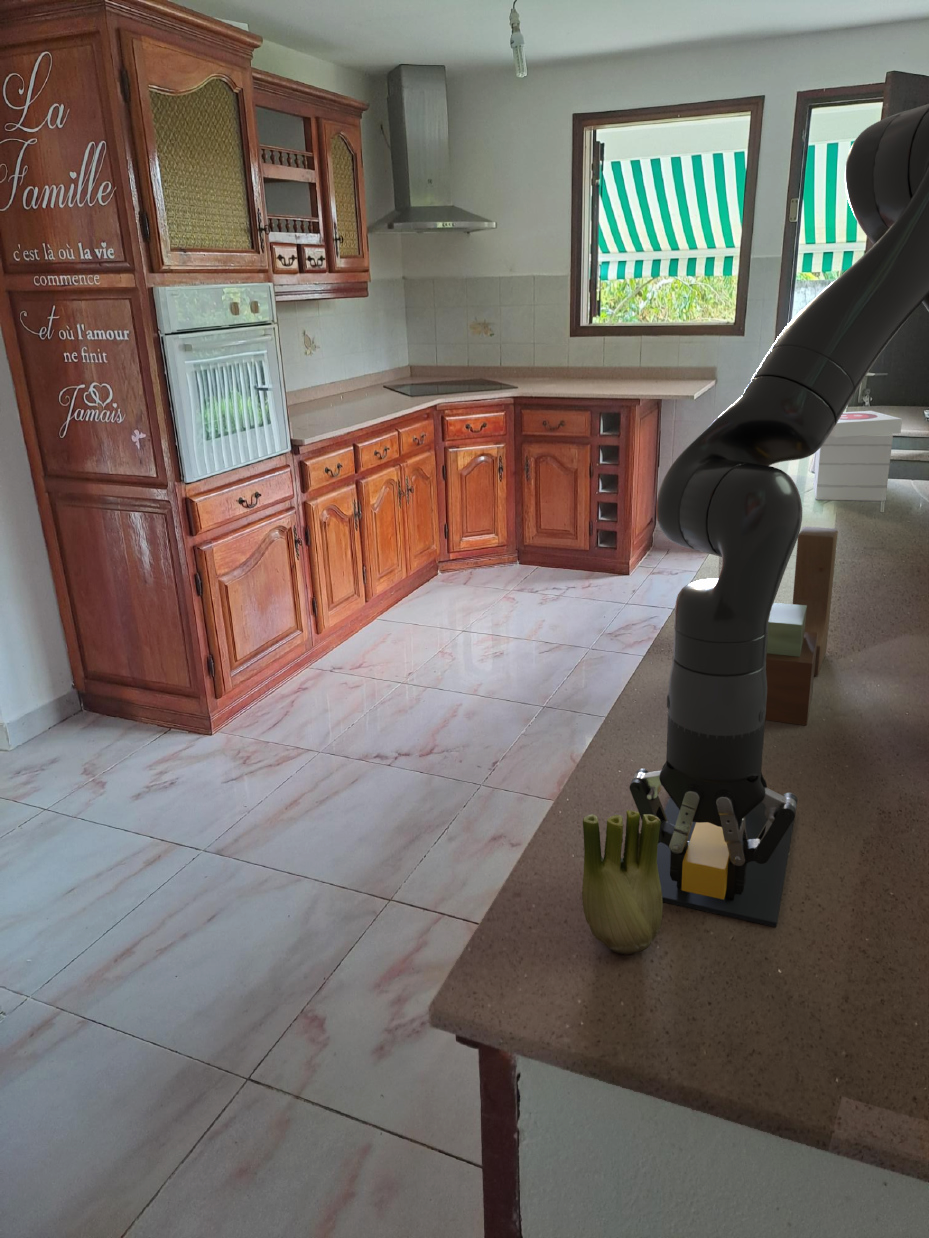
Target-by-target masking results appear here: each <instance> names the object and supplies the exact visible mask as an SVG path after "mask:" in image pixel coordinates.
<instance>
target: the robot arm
mask: <svg viewBox="0 0 929 1238" xmlns="http://www.w3.org/2000/svg"><path fill="white" fill-rule="evenodd" d="M844 168H845V169H844V170H845V171H844V183H845V193H846V196H847V200H848V204H849V206H850V208H851V211H852V213H853V216H854V218H855V220H856V222H857V223H858V226H859V227H860V228H861V230H862V232H863V233H864V234H865V235H866V237H867V238H868V240H869V241H870V242H871V243H872V244H873V245H872V247H870V248H869V249H868V250H867V251H866V252H865V253H864V254H863V255H862V256H861V257H859V259H857V261H856V262H854V263H853V264H852V265H851V266H849V268H847V270H845V271H844V272H843V273H842V274H841V275H839V276H838V277H837V278H836V279H834V280H833V281H832V282H831V283H830V284H828V285H827V286H826V287H825V288H824V289H823V290H822V291H821V292H820V293H818V294H817V295H816V296H815V297H814V298H813V299H811V300H810V302H808V303H807V305H805V306H804V308H802V309H801V310H800V311H799V312H798V313H797V314H796V315H795V316H794V317H793V319H791V320H790V321H789V323H787V325H786V326H785V327H784V329H783V330H782V331H781V333H780V334H779V336H777V338H776V340H775V341H774V342H773V344H772V345H771V347H770V349H769V350H768V352H767V353H766V355H765V356H764V358H763V359H762V361H761V363H760V364H759V367H757V369H756V371H755V372H754V374H753V376H752V377H751V379H750V380H749V382H748V383H747V385H746V387H745V388H744V391H743V392H742V393H741V395H740V396H739V398H738V399H737V400H736V401H735V402H734V403H733V404H731V405H730V406H729V407H727V409H725V410H724V411H723V412H722V413H721V414H720V415H718V416H717V417H716V418H715V419H714V421H712V423H710V424H709V426H707V427H706V428H705V430H703V431H702V432H701V433H700V434H699V435H698V436H697V437H696V438H695V439H694V440H692V442H691V443H690V444H688V446H687V447H686V448H685V449H684V450H683V451H682V452H681V453H680V454H679V455H678V456H677V458H676V459H675V460H674V461H673V463H672V464H671V466H670V467H669V469H668V470H667V472H666V474H665V475H664V477H663V479H662V483H661V484H660V487H659V490H658V493H657V499H656V503H655V505H656V507H655V508H656V509H655V510H656V512H655V513H656V521H657V524H658V527H659V529H660V531H661V533H662V534H663V535H664V536H665V537H666V538H667V539H668V540H669V541H671V542H672V543H674V544H676V545H678V546H680V547H683V548H687V549H690V550H693V551H698V552H701V553H705V554H708V555H712V556H716V557H720V558H721V561H722V565H721V570H720V573H719V576H718V578H717V577H716V578H703V579H699V580H694V581H692V582H690V583H687V584H686V585H684V586H682V588H681V589H680V591H679V592H678V594H677V596H676V600H675V605H674V613H673V614H674V615H673V646H672V647H673V648H672V662H671V668H670V672H669V678H668V693H667V695H666V708H667V721H666V722H667V726H666V730H667V731H666V755H665V759H666V760H665V763H664V764H663V765H662V767H661V769H660V770H655V771H650V772H649V771H648V769H645V768H639V769H637V771H636V772H635V774H634V775H633V777H632V780H631V782H630V784H629V791H630V794H631V796H632V799H633V802H634V804H635V807H636V809H637V812H639V814H640V820H642V819H643V815H646V814H650V815H654V816H656V817H658V818H659V819H660V821H661V824H660V830H659V839H658V843H660V842H662V843H664V844H666V845H667V846H668V847H669V848H670V851H671V857H670V877H671V879H672V880H673V881H677V888H681V889H682V867H683V859H684V856H685V853H686V850H687V848H688V845H689V842H690V841H688V835H689V832H690V829H691V825H692V822H697V823H704V822H708V823H711V824H714V825H716V826H719V827H722V830H723V835H724V840H725V842H726V843H727V847H728V852H729V857H730V859H729V863H728V874H727V889H726V895H725V898H727V899H732V900H734V898H735V894H738V895H741V894H742V892H743V890H744V886H745V882H746V869H747V863H748V862H751V861H756V862H757V863H759V864H764V863H766V862H767V861H768V860H769V858H770V856H771V855H772V853H773V852H774V850H775V848H776V847H777V845H778V844H779V842H780V840H781V839H782V837H783V836H784V834H785V832H786V831H787V829H788V828H789V826H790V825H791V823H792V821H793V820H794V821H795V818H796V811H797V806H798V801H799V800H798V797H797V795H796V794H794V793H792V792H786V793H784V794H783V795H782V794H780V793H779V792H776V791H774V790H772V789H770V788H768V784H767V782H766V779H765V778H764V775H763V772H762V767H763V754H764V753H763V752H764V739H765V729H766V728H765V727H766V720H765V715H766V701H767V677H766V656H767V642H768V627H769V615H770V612H771V608H772V605H773V603H775V600H776V597H777V594H778V592H779V589H780V586H781V583H782V580H783V577H784V575H785V571H786V569H787V567H788V564H789V562H790V559H791V556H792V555H793V551H794V549H795V546H796V545H797V541H798V536H799V533H800V532H801V530H802V524H803V523H802V522H803V504H802V497H801V495H800V492H799V489H798V487H797V485H796V483H795V481H794V480H793V479H792V477H791V476H790V475H789V474H788V473H787V472H786V471H784V470H782V469H780V468H777V467H774V466H772V465H775V464H778V463H782V462H789V461H797V460H803V459H806V458H809V457H810V456H814V453H815V452H817V451H818V450H819V449H820V447H821V446H822V445H823V444H824V442H825V441H826V439H827V438H828V436H829V435H830V433H831V432H832V430H833V428H834V426H835V425H836V423H837V422H838V420H839V419H840V417H841V415H842V414H843V412H845V410H846V409H847V407H848V406H849V404H850V403H851V401H852V399H853V398H854V396H855V394H856V393H857V391H858V389H859V388H860V386H861V384H862V383H863V382H864V380H865V378H866V376H867V375H868V374H869V372H870V370H871V369H872V367H873V366H874V365H875V363H876V361H877V359H878V358H879V356H880V355H882V352H883V351H885V348H886V347H887V346H888V345H889V343H890V342H891V340H892V339H893V338H894V337H895V336H896V334H897V333H898V331H899V330H901V328H902V327H903V325H904V324H905V323H906V322H907V320H909V318H910V317H911V316H912V315H913V314H914V312H915V311H916V310H917V309H918V308H919V306H920V305H922V304H923V306H924V307H925V309H926V310H927V311H928V312H929V103H927V104H923V105H920V106H917V107H915V108H912V109H907V110H904V111H901V112H897V113H895V114H893V115H889V116H887V117H885V118H883V119H880V120H878V121H876V122H874V123H873V124H871V125H870V126H868V127H866V128H865V129H864V130H863V131H861V132H860V133H859V134H858V136H857V137H856V138H855V140H854V141H853V143H852V145H851V146H850V148H849V151H848V154H847V158H846V162H845V167H844ZM661 786H662V787H663V789H664V790H665V792H666V793H667V795H668V796H669V798H670V797H671V799H672V800H673V802H674V803H675V804H676V806H677V807H678V809H679V810H680V812H679V815H678V818H677V821H676V825H675V826H674V825H672V824H670V823H668V820H667V817H666V815H665V812H664V810H665V808H664V807H663V805H662V802H661V800H660V796H659V795H660V792H661ZM761 802H762V803H763V804H764V805H765V807H766V810H765V816H766V818H768V821H767V822H766V824H765V826H764V827H763V829H762V831H761V832H760V834H759V836H758V837H757V839H750V840H748V837H747V832H746V826H745V824H746V821H745V816H746V815H747V814H748V813H749V812H751V811H752V810H753V809H754V808H755V807H756V806H757V805H758V804H760V803H761Z"/></svg>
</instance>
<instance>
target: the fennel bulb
mask: <svg viewBox="0 0 929 1238" xmlns="http://www.w3.org/2000/svg"><path fill="white" fill-rule="evenodd" d="M625 813H626V822H625V835H624V824H623V823H624V820H623V819H624V818H623V816H622V815H620V814H613V815H612V816H609V817H608V818H607V819H606V830H605V841H604V855H602V847H601V846H602V845H601V844H602V843H601V833H600V826H599V825H600V824H599V819H598V818H599V817H598V816H597V815H595V814H593V813H592V814H588V815H586V816H584V817H583V818H582V832H583V849H584V850H583V852H584V853H583V875H582V887H581V900H582V908H583V914H584V917H585V918H584V919H585V921H586V924H588V926H589V929H590V931H591V933H592V936H594V938H595V939H596V940H597V941H599V942H600V943H602V944H603V946H605V947H607V948H608V949H609V950H610V951H612V952H615V953H617V954H621V955H635V954H638V953H639V954H640V953H642V952H644V951H645V950H646V949H648V948H650V946H651V943H652V942H653V941H654V940H655V939H656V937H657V935H658V933H659V932H660V929H661V926H662V920H663V909H664V908H663V904H664V902H662V891H661V885H660V879H659V873H658V866H657V850H658V839H659V830H660V824H661V821H660V819H659V818H658V817H656V816H654V815H650V814H646V815H643V819H641V817H640V814H639V811H638V810H637V811H636V810H632V809H627V810H626V811H625ZM640 820H641V822H640ZM640 823H641V828H640ZM623 835H624V836H625V837H624V846H623ZM622 846H623V848H622ZM622 849H623V850H622ZM622 851H623V853H622ZM602 856H603V857H602ZM622 856H623V857H622Z"/></svg>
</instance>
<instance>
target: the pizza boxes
mask: <svg viewBox="0 0 929 1238" xmlns="http://www.w3.org/2000/svg"><path fill="white" fill-rule="evenodd" d="M902 424H903V418H901V417H897V416H892V415H889V414H885V413H881V412H877V411H874V410H860V411H858V410H857V411H844V412H843V414H842V415H841V417H840V419H839V420H838V422H837V423H836V425H835V426H834V428H833V430H832V432H831V433H830V435H829V436H828V438H827V439H826V441H825V442H824V444H823V445H822V446H821V447H820V449H819V450H818V451H817V452H815V453H814V454H813V457H812V470H811V471H812V472H813V473H814V475H813V492H814V497H815V500H816V501H818V500H819V501H861V502H863V501H865V502H866V501H868V502H870V501H871V502H886V500H887V492H888V491H887V490H888V483H889V474H890V465H891V456H892V447H893V439H894V435H895V434H901V433H902ZM893 434H894V435H893Z"/></svg>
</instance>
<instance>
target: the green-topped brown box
mask: <svg viewBox="0 0 929 1238" xmlns="http://www.w3.org/2000/svg"><path fill="white" fill-rule="evenodd" d="M806 610H807V605H796V604H793V603H785V602H784V603H783V602H782V603H781V602H774V603H773V605H772V608H771V612H770V615H769V627H768V642H767V656H766V677H767V701H766V715H765V721H769V722H770V721H771V722H779V723H786V724H793V725H801V726H807V725H808V720H809V714H810V709H811V703H812V696H813V691H814V681H815V680H814V679H815V676H814V671H815V660H816V649H817V639H818V633H814V632H805V622H806Z"/></svg>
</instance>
